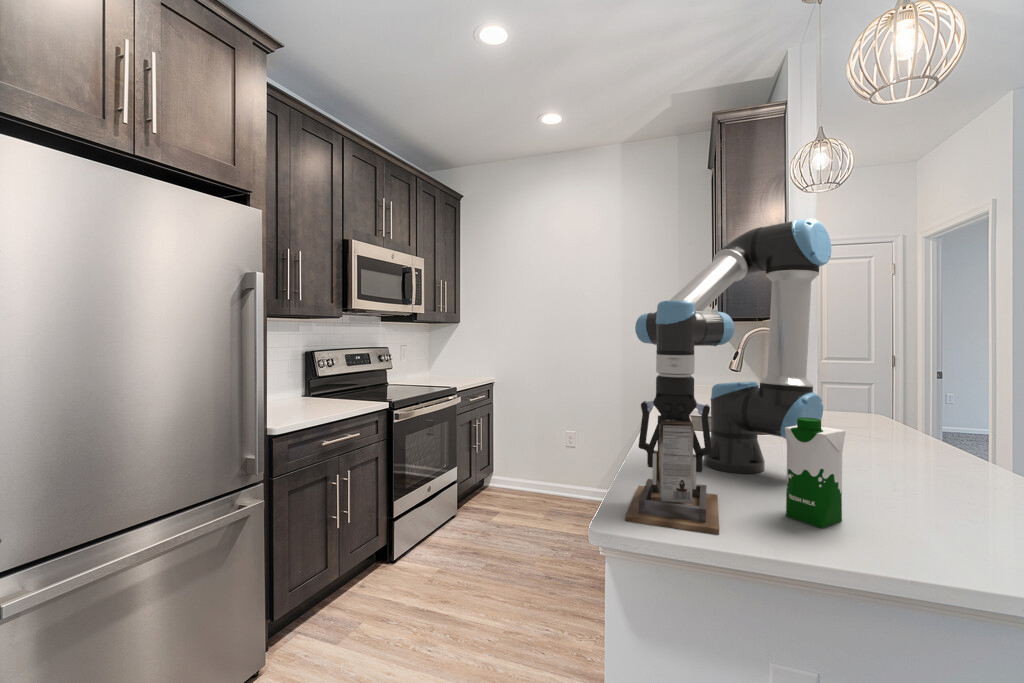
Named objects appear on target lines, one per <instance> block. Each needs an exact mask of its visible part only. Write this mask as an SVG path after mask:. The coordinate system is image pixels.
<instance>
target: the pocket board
mask: <svg viewBox="0 0 1024 683" xmlns="http://www.w3.org/2000/svg"><path fill="white" fill-rule="evenodd" d="M718 498H719V497H718V494H715V493H708V492H707V484H700V483H699V484H698V483H696V489H693V491H692V503H677V502H662V501H661V499H660V495H659V491H658V485H653V478H647V479H646V482H645V485H638V486H637V488H636V491H635V493H634V495H633V497H632V500H631V502H630V503H629V506H628V508H627V511H626V513H625V515H624V521H625V522H631V523H636V524H637V523H638V524H645V525H651V526H657V527H658V526H659V527H664V528H671V529H680V530H685V531H692V532H700V533H707V534H714V535H720V519H719V518H720V516H719V500H718Z"/></svg>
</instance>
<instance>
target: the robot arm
mask: <svg viewBox="0 0 1024 683" xmlns="http://www.w3.org/2000/svg"><path fill="white" fill-rule="evenodd" d="M831 257H832V242H831V239H830V235H829V232H828V231H827V229H826V227H825V226H824V224H823V223H821V221H819V220H818V219H815V218H805V219H794V220H791V221H787V222H781V223H776V224H772V225H771V224H770V225H767V226H760V227H755V228H752V229H750V230H748V231H747V232H744V233H742V234H740V235H739V236H737V237H736V238H734V239H733V240H731V241H729V242H728V243H726V245H724V246H723V247H722V248H720V250H719V251H717V252H716V253H715V255H714V256H713V259H712V262H710V264H709V265H707V266H706V267H705V268H704V269H703V270H702V271H701V272H699V274H697V275H696V276H695V277H694V278H693V279H692V280H690V281H689V282H688V283H687V284H686V285H685V286H684V287H682V289H681V290H679V291H678V292H677V293H676V294H675V295H674V296H672V297H671V299H669V300H662V301H659V303H657V306H656V311H655V312H648V313H643V314H641V315H640V316H639V317H638V318H637V320H636V322H635V328H634V329H635V333H636V337H637V338H638V340H639V341H640V342H642V343H644V344H652V345H655V346H656V354H655V355H656V356H655V358H656V359H655V372H656V373H657V374H658V375H657V376H656V378H655V397H654V399H653V400H650V401H649V400H648V401H647V400H644V401H642V402H641V404H640V409H641V413H642V416H641V423H640V430H639V431H640V432H639V439H638V448H639V449H641V450H643V451H645V452H646V456H647V462H646V464H647V467H648V468H652V479H653V485H657V482H658V450H655V448H656V446H657V444H658V438H659V422H660V420H666V419H668V420H683V421H686V422H690V421H691V420H692V419H691V418H690V415H691V414H692V413H693V411H694V410H695V409H697V414H699V416H701V426H702V435H703V444H704V447H701V444H700V441H699V440H698V436H697V434H696V432H695V429H694V427H693V452H694V453H693V489H696V484H697V473H702V471H703V464H704V465H705V466H707V467H708V468H711V469H714V470H717V471H722V472H726V473H733V474H757V473H762V472H763V471H764V470H765V467H766V466H765V459H764V455H763V452H762V449H761V447H760V444H759V440H758V434H764V435H769V436H775V437H781V438H783V439H785V440H786V434H785V428H786V427H791V426H796V425H797V418H815V419H820V420H821V421H822V418H823V414H824V403H823V402H822V401H823V400H822V398H821V397H820V395H818V394H816V393H814V385H813V384H812V383H811V382H810V381H809V380H808V378H807V374H808V373H807V372H808V370H807V369H808V350H809V334H810V332H809V331H810V317H811V314H810V312H811V297H812V296H811V294H812V282H813V280H815V279H816V278H818V276H819V275H820V267H822V266H824V265H826V264H828V263H829V261H830V258H831ZM759 272H760V273H761V272H765V277H766V278H767V279H768V280H769V281H771V294H770V297H771V298H770V312H769V314H770V316H769V331H768V333H769V334H768V350H767V351H768V353H767V368H766V369H767V370H766V371H767V372H766V376H765V377H763V379H760V382H759V384H758V382H757V381H738V382H736V381H735V382H725V383H724V382H723V383H722V382H721V383H715V384H713V386H712V387H711V395H710V405H709V404H708V403H706V404H702V403H699V402H697V401H696V398H695V378H694V376H692V375H693V374H695V346H697V347H698V346H699V347H706V346H709V347H710V346H711V347H712V346H713V347H717V346H721V345H725V344H727V343H729V342H730V341H731V340H732V338H733V336H734V334H735V333H734V332H735V323H734V321H733V319H732V317H731V316H730V315H729V314H728V313H726V312H722V311H717V310H710V311H709V310H707V311H706V310H705V309H707V308H708V306H709V305H711V304H712V303H713V302H714V301H715V300H716V299H717V298H718V297H719V296H721V294H723V293H724V291H725V290H727V289H728V288H729V287H730V286H731V285H732V284H733V283H734V282H740V281H741V280H743V279H744V278H745V277H746V276H748V275H750V274H751V275H752V274H755V273H759ZM653 407H655V408H656V410H657V411H658V413H659V414H660V415H661V416H660V419H659V421H658V420H657V424H656V427H655V429H654V432H653V434H652V436H651V439H650V442H648V443H647V437H648V428H649V421H650V412H652V411H653ZM709 414H710V422H709ZM691 422H692V421H691ZM709 425H710V426H709Z"/></svg>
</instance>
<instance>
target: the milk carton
mask: <svg viewBox="0 0 1024 683" xmlns="http://www.w3.org/2000/svg"><path fill="white" fill-rule="evenodd" d="M785 434H786V439H785V440H786V494H785V496H786V499H785V500H786V503H785V505H786V506H785V508H786V509H785V517H787V518H790V519H793V520H796V521H799V522H801V523H805V524H808V525H811V526H813V527H816V528H820V529H825V528H827V527H829V526H832V525H835V523H836V524H837V523H838V524H839V523H841V522H842V521H843V510H842V509H843V505H842V504H843V501H842V500H843V499H842V498H843V496H842V495H843V451H844V446H845V445H844V443H845V437H846V430H845V429H838V428H832V427H825V426H822V419H821V420H820V419H815V418H797V425H796V426H791V427H786V428H785ZM840 521H841V522H840Z"/></svg>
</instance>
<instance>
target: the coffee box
mask: <svg viewBox="0 0 1024 683" xmlns="http://www.w3.org/2000/svg"><path fill="white" fill-rule="evenodd" d="M660 416H661V414H660V415H657V422H658V421H659V419H660ZM693 428H694V423H693V422H692V421H690V422H686V421H683V420H668V419H666V420H660V422H659V438H658V440H657V451H658V482H657V485H658V491H659V495H660V499H661V501H662V502H677V503H692V491H693V454H694V449H693Z"/></svg>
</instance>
